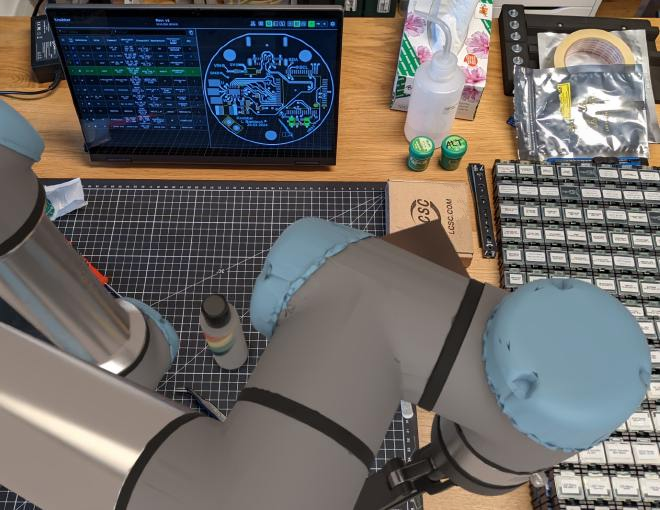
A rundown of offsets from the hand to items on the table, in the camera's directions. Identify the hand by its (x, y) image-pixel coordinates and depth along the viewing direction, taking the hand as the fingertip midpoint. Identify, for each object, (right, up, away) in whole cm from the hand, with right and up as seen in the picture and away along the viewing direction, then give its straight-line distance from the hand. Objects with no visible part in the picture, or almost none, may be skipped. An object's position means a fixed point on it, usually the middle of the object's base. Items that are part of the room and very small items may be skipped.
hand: (441, 482), depth 59 cm
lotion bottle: (-27, +5, +45) cm, 53 cm away
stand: (+2, +5, +45) cm, 45 cm away
